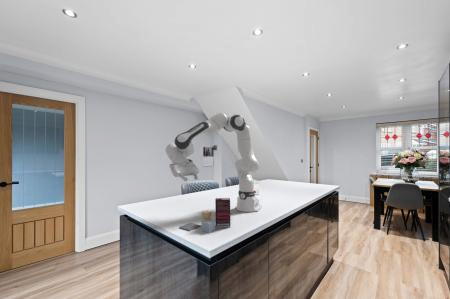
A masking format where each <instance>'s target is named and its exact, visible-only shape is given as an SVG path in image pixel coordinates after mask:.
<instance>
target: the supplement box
mask: <svg viewBox="0 0 450 299" xmlns="http://www.w3.org/2000/svg"><path fill="white" fill-rule="evenodd" d="M214 204H215V205H214V206H215V229H216V228H217V229H218V228H231V199H230V197H220V198H219V197H216V198H215V202H214Z"/></svg>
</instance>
